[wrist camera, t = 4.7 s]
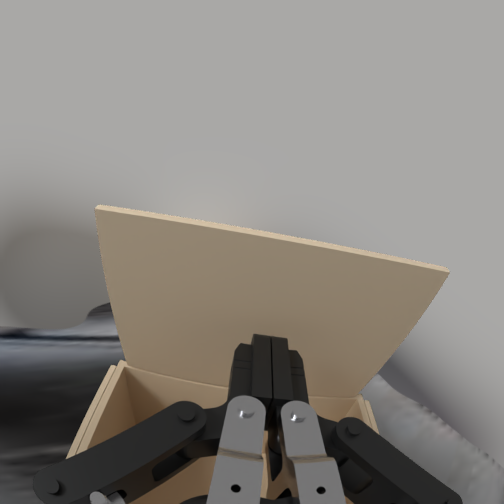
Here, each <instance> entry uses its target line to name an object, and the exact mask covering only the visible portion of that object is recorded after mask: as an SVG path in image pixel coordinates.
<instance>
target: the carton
mask: <svg viewBox="0 0 504 504" xmlns="http://www.w3.org/2000/svg"><path fill="white" fill-rule="evenodd" d="M227 395H228V387H227V386H221V385H215V384H209V383H203V382H198V381H193V380H188V379H183V378H178V377H173V376H169V375H164V374H160V373H156V372H152V371H148V370H144V369H140V368H136V367H133V366H129V365H127V362H126V361H123V360H120V362H119V363H118V365H117V367H116V366H114V365H111V366H110V368H109V370H108V372H107V374H106V376H105V378H104V380H103V382H102V384H101V386H100V387H99V389H98V391H97V393H96V395H95V397H94V399H93V401H92V403H91V405H90V407H89V410H88V412H87V414H86V416H85V418H84V420H83V422H82V424H81V426H80V428H79V431H78V433H77V435H76V437H75V439H74V441H73V444H72V446H71V448H70V450H69V453H68V455H67V457H66V459H67V458H70V457H72V456H74V455H76V454H78V453H81V452H83V451H85V450H87V449H89V448H91V447H93V446H95V445H97V444H100V443H102V442H104V441H106V440H108V439H110V438H112V437H114V436H115V435H117V434H119V433H121V432H123V431H125V430H127V429H129V428H131V427H133V426H134V425H136V424H138V423H140V422H142V421H144V420H145V419H147V418H149V417H151V416H153V415H154V414H156V413H158V412H160V411H161V410H163V409H165V408H167V407H168V406H170V405H172V404H174V403H176V402H179V401H191V402H194V403H196V404H198V405H199V406H201V407H202V408H203V409H207V408H215V407H218V406H221V405H223V404H224V403H225V402H226V401H227ZM308 399H309V404H310V406H311V407H313V409H314V410H315V412H316V414H317V415H319V416H321V417H323V418H325V419H329V420H332V421H336V422H339V421H340V420H341V419H343V418H345V417H355V418H358V419H360V420H362V421H363V422H364V423H365V424H367V425H368V426H369V427H370V428H372V429H373V430H374V431H375V432H376V433H378V434H379V432H378V428H377V425H376V422H375V419H374V415H373V412H372V409H371V406H370V403H369V400H366V401H364V400H363V397H362V394H357V395H356V396H355V397H338V396H313V395H308ZM267 439H268V431H264V436H263V446H262V458H263V459H264V466H263V476H262V485H261V494H260V497H262V498H266V493H267V488H268V475H267V464H266V453H265V443H266V441H267ZM215 461H216V456H210V457H201V458H199V459H198V460H197V461H195V462H194V463H192V464H191V465H190V466H188V467H187V468H185V469H184V470H182V471H181V472H179V473H178V474H176V475H175V476H173V477H172V478H170V479H169V480H167V481H166V482H164V483H163V484H161V485H159V486H158V487H156V488H155V489H153V490H151V491H150V492H148V493H146V494H145V495H143V496H141V497H140V498H138V499H136V500H134V501H133V502H131V503H129V504H180V503H181V502H183V501H185V500H187V499H190V498H192V497H196V496H200V495H207V494H208V492H209V488H210V483H211V479H212V474H213V470H214V465H215ZM345 500H346V504H354V503H353V502H351V501H350V500H349V499H348V498H347V497H346V496H345Z"/></svg>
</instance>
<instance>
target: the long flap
mask: <svg viewBox="0 0 504 504" xmlns="http://www.w3.org/2000/svg"><path fill="white" fill-rule="evenodd" d="M95 217H96V225H97V232H98V239H99V246H100V252H101V258H102V264H103V269H104V275H105V280H106V285H107V289H108V294H109V298H110V303H111V307H112V311H113V316H114V320H115V323H116V327H117V331H118V335H119V338H120V342H121V345H122V349H123V352H124V356H125V359H126V362H127V365H129V366H133V367H136V368H140V369H144V370H148V371H152V372H156V373H160V374H164V375H169V376H173V377H178V378H183V379H188V380H193V381H198V382H203V383H209V384H215V385H221V386H227V387H229V378H230V371H231V366H232V361H233V356H234V351H235V349H236V348H237V347H238V345H239V344H240V343H244V344H251V341H252V337H253V334H261V335H268V336H275V337H283V338H287V339H288V348H289V350H297V351H298V353H299V354H300V356H301V357H302V359H303V364H304V371H305V378H306V385H307V392H308V395H313V396H338V397H355V396H356V395H357V394H358V393H359V392H360V391H361V390H362V389H363V388H364V387H365V386H366V384H367V383H368V382H369V381H370V380H371V379H372V378H373V377H374V376H375V374H376V373H377V372H378V371H379V370H380V369H381V367H382V366H383V365H384V364H385V363H386V361H387V360H388V359H389V358H390V357H391V355H392V354H393V353H394V352H395V351H396V349H397V348H398V347H399V346H400V344H401V343H402V342H403V341H404V339H405V338H406V337H407V335H408V334H409V333H410V331H411V330H412V329H413V327H414V326H415V325H416V323H417V322H418V320H419V319H420V318H421V316H422V315H423V313H424V312H425V310H426V309H427V308H428V306H429V305H430V303H431V302H432V300H433V299H434V297H435V296H436V294H437V293H438V291H439V290H440V288H441V286H442V285H443V283H444V281H445V280H446V278H447V277H448V275H449V273H450V272H449V270H448V269H447V268H446V267H442V266H437V265H433V264H428V263H424V262H419V261H414V260H410V259H405V258H400V257H395V256H391V255H386V254H381V253H376V252H371V251H366V250H361V249H356V248H351V247H345V246H341V245H336V244H330V243H325V242H320V241H314V240H309V239H304V238H299V237H293V236H288V235H282V234H277V233H271V232H265V231H260V230H255V229H249V228H243V227H237V226H232V225H226V224H220V223H214V222H208V221H202V220H196V219H190V218H184V217H177V216H172V215H165V214H159V213H153V212H146V211H140V210H133V209H127V208H120V207H113V206H106V205H98V206H97V207H96V208H95Z"/></svg>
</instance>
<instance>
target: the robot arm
mask: <svg viewBox="0 0 504 504" xmlns="http://www.w3.org/2000/svg"><path fill="white" fill-rule="evenodd" d="M264 431H268V439H267V441H266V443H265V453H266V464H267V475H268V488H267V493H266V498H262V497H260V494H261V485H262V476H263V466H264V459H263V458H262V446H263V436H264ZM210 456H216V461H215V465H214V470H213V474H212V479H211V483H210V488H209V492H208V494H207V495H200V496H196V497H192V498H190V499H187V500H185V501H183V502H181V503H180V504H346V500H345V496H346V497H347V498H348V499H349V500H350V501H351V502H353V503H354V504H463V502H462V499H461V497H460V496H459V495H458V494H457V493H456V492H454V491H453V490H451V489H450V488H448V487H447V486H446V485H444V484H443V483H442V482H440V481H439V480H437V479H436V478H435V477H433V476H432V475H431V474H429V473H428V472H426V471H425V470H424V469H422V468H421V467H420V466H418V465H417V464H416V463H415V462H413V461H412V460H411V459H409V458H408V457H407V456H405V455H404V454H403V453H402V452H400V451H399V450H398V449H396V448H395V447H394V446H393V445H391V444H390V443H389V442H388V441H386V440H385V439H384V438H383V437H381V436H380V435H379V434H378V433H376V432H375V431H374V430H373V429H372V428H370V427H369V426H368V425H367V424H365V423H364V422H363V421H362V420H360V419H358V418H355V417H345V418H343V419H341V420H340V421H339V422H336V421H332V420H329V419H325V418H323V417H321V416H319V415H317V414H316V412H315V410H314V409H313V407H311V406H310V404H309V399H308V392H307V385H306V378H305V371H304V364H303V359H302V357H301V356H300V354H299V353H298V351H297V350H289V348H288V339H287V338H283V337H275V336H268V335H261V334H253V337H252V341H251V344H244V343H240V344H239V345H238V347H237V348H236V349H235V351H234V356H233V361H232V366H231V371H230V378H229V387H228V395H227V401H226V402H225V403H224V404H223V405H221V406H218V407H215V408H207V409H203V408H202V407H201V406H199V405H198V404H196V403H194V402H191V401H179V402H176V403H174V404H172V405H170V406H168V407H167V408H165V409H163V410H161V411H160V412H158V413H156V414H154V415H153V416H151V417H149V418H147V419H145V420H144V421H142V422H140V423H138V424H136V425H134V426H133V427H131V428H129V429H127V430H125V431H123V432H121V433H119V434H117V435H115V436H114V437H112V438H110V439H108V440H106V441H104V442H102V443H100V444H97V445H95V446H93V447H91V448H89V449H87V450H85V451H83V452H81V453H78V454H76V455H74V456H72V457H70V458H67V459H65V460H63V461H60V462H58V463H56V464H53V465H51V466H49V467H46V468H44V469H41V470H40V471H38V472H37V473H36V474H35V476H34V479H33V488H34V491H35V493H36V495H37V496H38V498H39V499H40V500H41V501H43V502H44V503H45V504H129V503H131V502H133V501H134V500H136V499H138V498H140V497H141V496H143V495H145V494H146V493H148V492H150V491H151V490H153V489H155V488H156V487H158V486H159V485H161V484H163V483H164V482H166V481H167V480H169V479H170V478H172V477H173V476H175V475H176V474H178V473H179V472H181V471H182V470H184V469H185V468H187V467H188V466H190V465H191V464H192V463H194V462H195V461H197V460H198V459H199V458H201V457H210Z"/></svg>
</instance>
